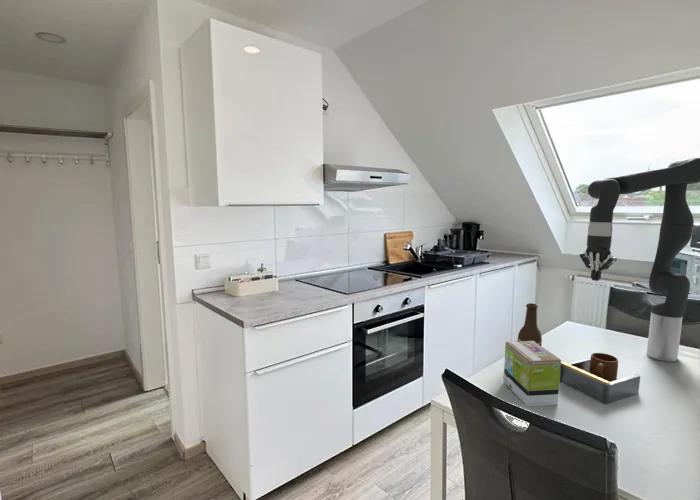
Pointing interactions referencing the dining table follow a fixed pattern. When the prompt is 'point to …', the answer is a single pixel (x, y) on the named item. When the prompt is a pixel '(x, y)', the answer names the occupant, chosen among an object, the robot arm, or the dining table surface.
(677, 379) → the dining table surface
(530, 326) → the beer bottle
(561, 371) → the bracket
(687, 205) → the robot arm
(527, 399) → the tea box
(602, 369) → the mug
